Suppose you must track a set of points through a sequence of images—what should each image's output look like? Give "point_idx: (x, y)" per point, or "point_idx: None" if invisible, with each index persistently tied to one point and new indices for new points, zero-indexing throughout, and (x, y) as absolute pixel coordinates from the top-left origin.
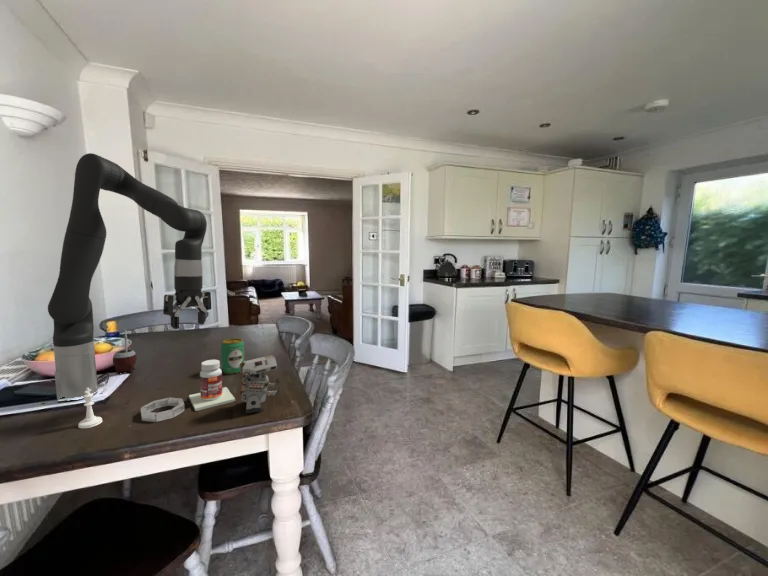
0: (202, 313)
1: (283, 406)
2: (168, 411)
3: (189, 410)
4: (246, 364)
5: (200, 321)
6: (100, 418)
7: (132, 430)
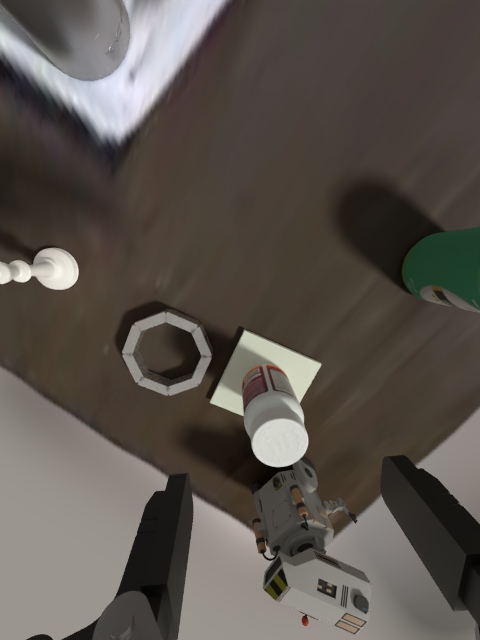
0: (449, 602)
1: None
2: (160, 391)
3: (206, 386)
4: (279, 601)
5: (393, 493)
6: (69, 278)
7: (101, 370)
